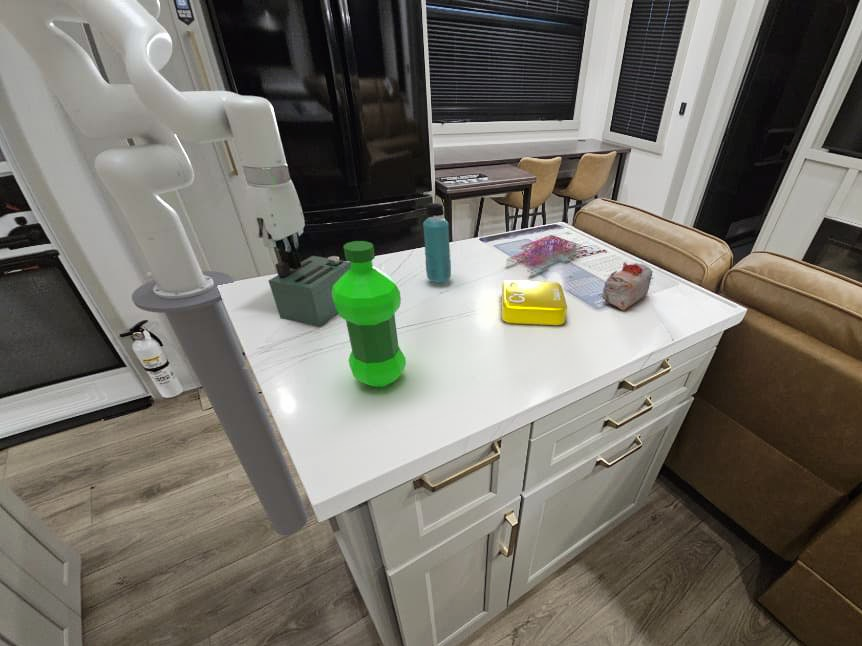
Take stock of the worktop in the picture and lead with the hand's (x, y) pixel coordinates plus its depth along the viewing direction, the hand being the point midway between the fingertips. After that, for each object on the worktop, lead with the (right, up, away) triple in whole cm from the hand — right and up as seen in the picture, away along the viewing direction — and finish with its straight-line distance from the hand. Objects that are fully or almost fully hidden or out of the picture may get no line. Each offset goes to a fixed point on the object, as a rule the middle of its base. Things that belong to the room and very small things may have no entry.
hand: (292, 266), depth 90 cm
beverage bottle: (+28, +2, +21) cm, 35 cm away
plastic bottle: (+23, -25, -13) cm, 36 cm away
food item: (+77, -4, +20) cm, 80 cm away
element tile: (+53, -7, +12) cm, 55 cm away
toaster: (+3, -8, +7) cm, 10 cm away
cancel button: (+7, +1, +6) cm, 9 cm away
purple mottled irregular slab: (+57, +13, +39) cm, 71 cm away
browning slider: (-1, -2, -2) cm, 3 cm away
